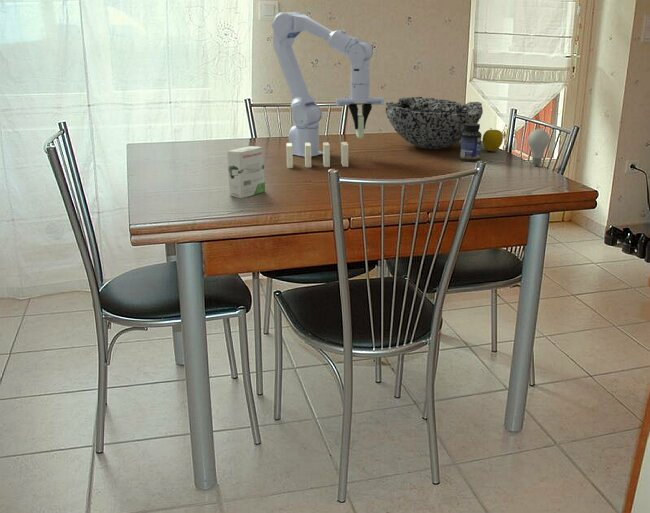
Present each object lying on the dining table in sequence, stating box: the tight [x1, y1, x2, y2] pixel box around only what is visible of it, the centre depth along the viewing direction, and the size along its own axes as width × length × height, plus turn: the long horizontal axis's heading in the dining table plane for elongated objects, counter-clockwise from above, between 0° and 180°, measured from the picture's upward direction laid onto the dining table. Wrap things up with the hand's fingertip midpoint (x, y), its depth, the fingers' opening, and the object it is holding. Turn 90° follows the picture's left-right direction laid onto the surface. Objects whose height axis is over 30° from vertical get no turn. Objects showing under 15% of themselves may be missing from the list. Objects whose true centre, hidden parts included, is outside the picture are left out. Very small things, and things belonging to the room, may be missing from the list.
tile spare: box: [355, 113, 365, 139], centre depth 223 cm, size 2×5×6 cm, turn 6°
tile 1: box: [285, 142, 294, 169], centre depth 216 cm, size 2×5×6 cm, turn 4°
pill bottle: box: [459, 123, 483, 163], centre depth 223 cm, size 6×6×11 cm
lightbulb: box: [527, 128, 551, 167], centre depth 213 cm, size 6×6×11 cm
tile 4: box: [340, 141, 349, 168], centre depth 218 cm, size 2×5×6 cm, turn 5°
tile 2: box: [304, 143, 312, 169], centre depth 217 cm, size 2×5×6 cm, turn 5°
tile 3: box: [322, 141, 331, 168], centre depth 217 cm, size 2×5×6 cm, turn 5°
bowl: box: [385, 96, 484, 150], centre depth 241 cm, size 31×31×15 cm
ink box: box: [226, 145, 266, 199], centre depth 184 cm, size 9×5×12 cm, turn 140°
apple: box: [481, 127, 504, 152], centre depth 235 cm, size 6×6×8 cm
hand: (359, 128), depth 223 cm, fingers closed on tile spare, 1 cm apart
